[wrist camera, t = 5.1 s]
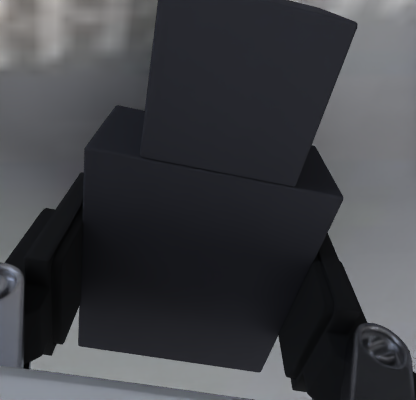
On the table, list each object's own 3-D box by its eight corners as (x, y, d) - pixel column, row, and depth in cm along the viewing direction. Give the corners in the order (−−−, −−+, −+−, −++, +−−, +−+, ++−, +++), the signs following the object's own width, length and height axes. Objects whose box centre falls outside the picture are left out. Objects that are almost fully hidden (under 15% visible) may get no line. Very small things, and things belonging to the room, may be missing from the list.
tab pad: (102, 279, 14) (77, 347, 12) (127, -40, 9) (90, -42, 6) (253, 303, 15) (260, 373, 12) (365, 19, 9) (421, 38, 7)
